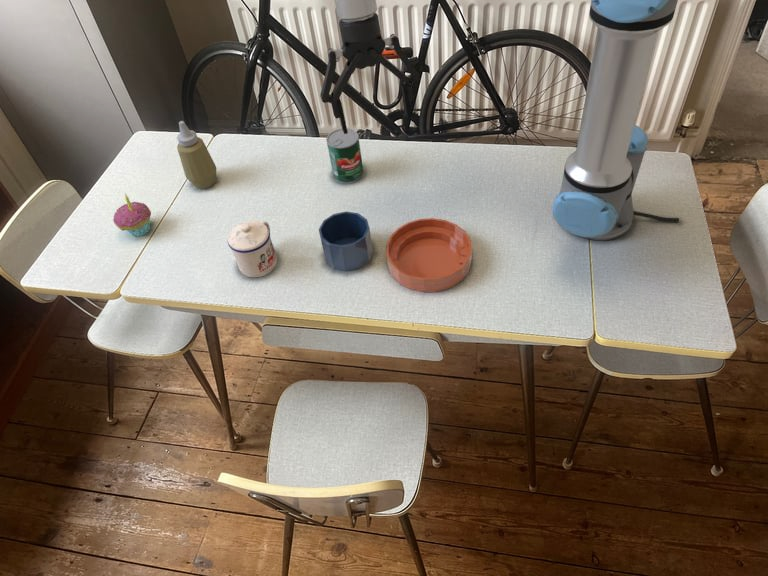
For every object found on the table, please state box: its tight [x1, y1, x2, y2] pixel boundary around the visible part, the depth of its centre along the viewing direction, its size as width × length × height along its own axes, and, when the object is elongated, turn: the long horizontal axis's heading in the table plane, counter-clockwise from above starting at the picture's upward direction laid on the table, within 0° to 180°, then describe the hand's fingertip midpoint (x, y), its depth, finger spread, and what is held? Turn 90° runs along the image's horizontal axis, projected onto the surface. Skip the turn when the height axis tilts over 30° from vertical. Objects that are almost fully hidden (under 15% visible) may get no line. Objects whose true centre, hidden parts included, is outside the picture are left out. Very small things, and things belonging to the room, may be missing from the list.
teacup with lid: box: [227, 220, 278, 278], centre depth 126 cm, size 12×9×12 cm
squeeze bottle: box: [176, 120, 217, 190], centre depth 144 cm, size 8×8×18 cm
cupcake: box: [112, 193, 152, 237], centre depth 136 cm, size 9×8×12 cm
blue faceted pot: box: [318, 210, 374, 272], centre depth 126 cm, size 11×11×8 cm
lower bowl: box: [385, 217, 473, 293], centre depth 124 cm, size 18×18×4 cm
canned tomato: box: [325, 128, 365, 184], centre depth 144 cm, size 8×8×11 cm
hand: (376, 123), depth 121 cm, fingers open, 13 cm apart
